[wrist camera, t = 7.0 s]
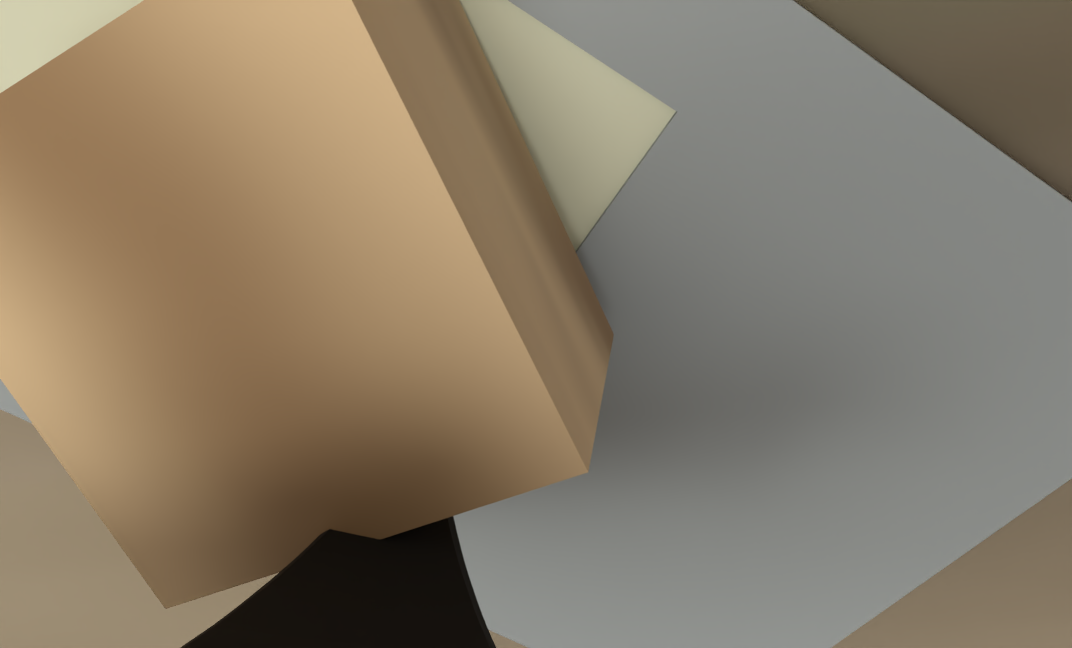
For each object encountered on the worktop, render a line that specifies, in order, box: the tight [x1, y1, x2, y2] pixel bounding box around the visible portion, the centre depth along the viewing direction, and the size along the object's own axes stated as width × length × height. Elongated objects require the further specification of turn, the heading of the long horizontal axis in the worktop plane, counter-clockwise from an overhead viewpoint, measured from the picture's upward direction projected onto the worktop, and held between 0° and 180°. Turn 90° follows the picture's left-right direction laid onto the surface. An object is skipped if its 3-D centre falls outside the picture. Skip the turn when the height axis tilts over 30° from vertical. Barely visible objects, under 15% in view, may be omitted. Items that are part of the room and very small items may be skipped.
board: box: [0, 0, 1072, 648], centre depth 14 cm, size 14×21×1 cm, turn 59°
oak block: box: [0, 0, 614, 609], centre depth 10 cm, size 6×6×4 cm
